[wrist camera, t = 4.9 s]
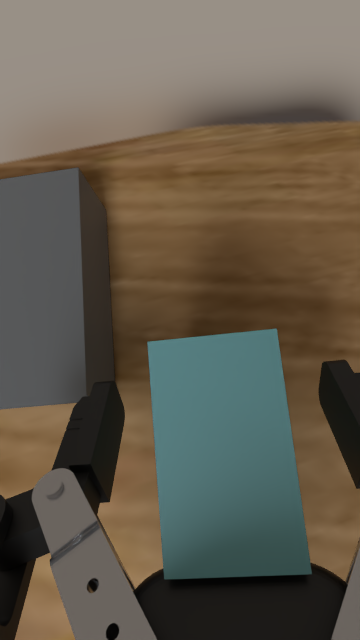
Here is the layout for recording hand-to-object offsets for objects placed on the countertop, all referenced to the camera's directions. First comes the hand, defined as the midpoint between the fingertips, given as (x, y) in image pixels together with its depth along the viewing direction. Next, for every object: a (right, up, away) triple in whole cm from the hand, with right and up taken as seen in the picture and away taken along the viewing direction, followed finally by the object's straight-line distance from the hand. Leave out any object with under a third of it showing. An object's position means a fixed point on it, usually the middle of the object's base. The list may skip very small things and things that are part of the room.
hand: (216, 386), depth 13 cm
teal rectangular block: (+1, -2, +6) cm, 6 cm away
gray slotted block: (-13, +3, +8) cm, 16 cm away
